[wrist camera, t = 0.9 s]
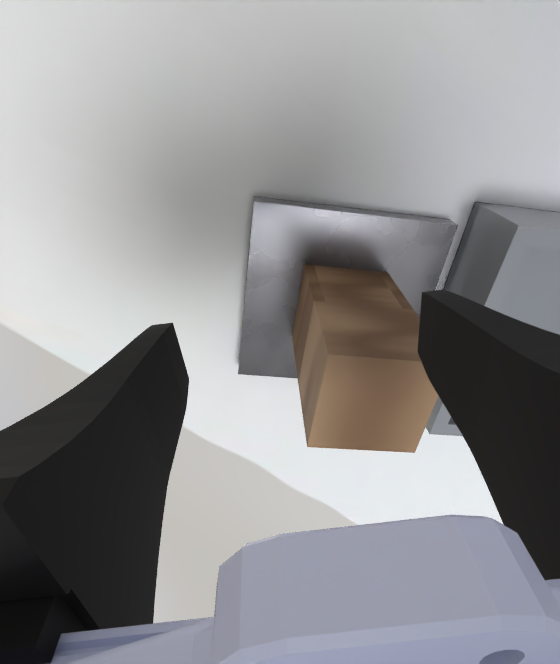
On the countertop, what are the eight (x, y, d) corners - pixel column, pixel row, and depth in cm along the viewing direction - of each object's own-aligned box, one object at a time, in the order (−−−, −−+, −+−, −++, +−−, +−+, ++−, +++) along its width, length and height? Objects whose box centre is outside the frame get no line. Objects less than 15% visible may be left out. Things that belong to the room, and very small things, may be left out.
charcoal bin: (686, 228, 22) (766, 254, 18) (576, 400, 28) (620, 445, 25) (474, 201, 21) (518, 225, 17) (407, 389, 27) (429, 434, 23)
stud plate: (449, 219, 21) (496, 252, 17) (396, 375, 26) (422, 430, 22) (254, 196, 20) (253, 225, 16) (238, 364, 25) (235, 419, 21)
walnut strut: (387, 272, 21) (451, 364, 14) (367, 343, 23) (414, 452, 17) (304, 263, 21) (328, 354, 14) (291, 337, 23) (307, 446, 16)
